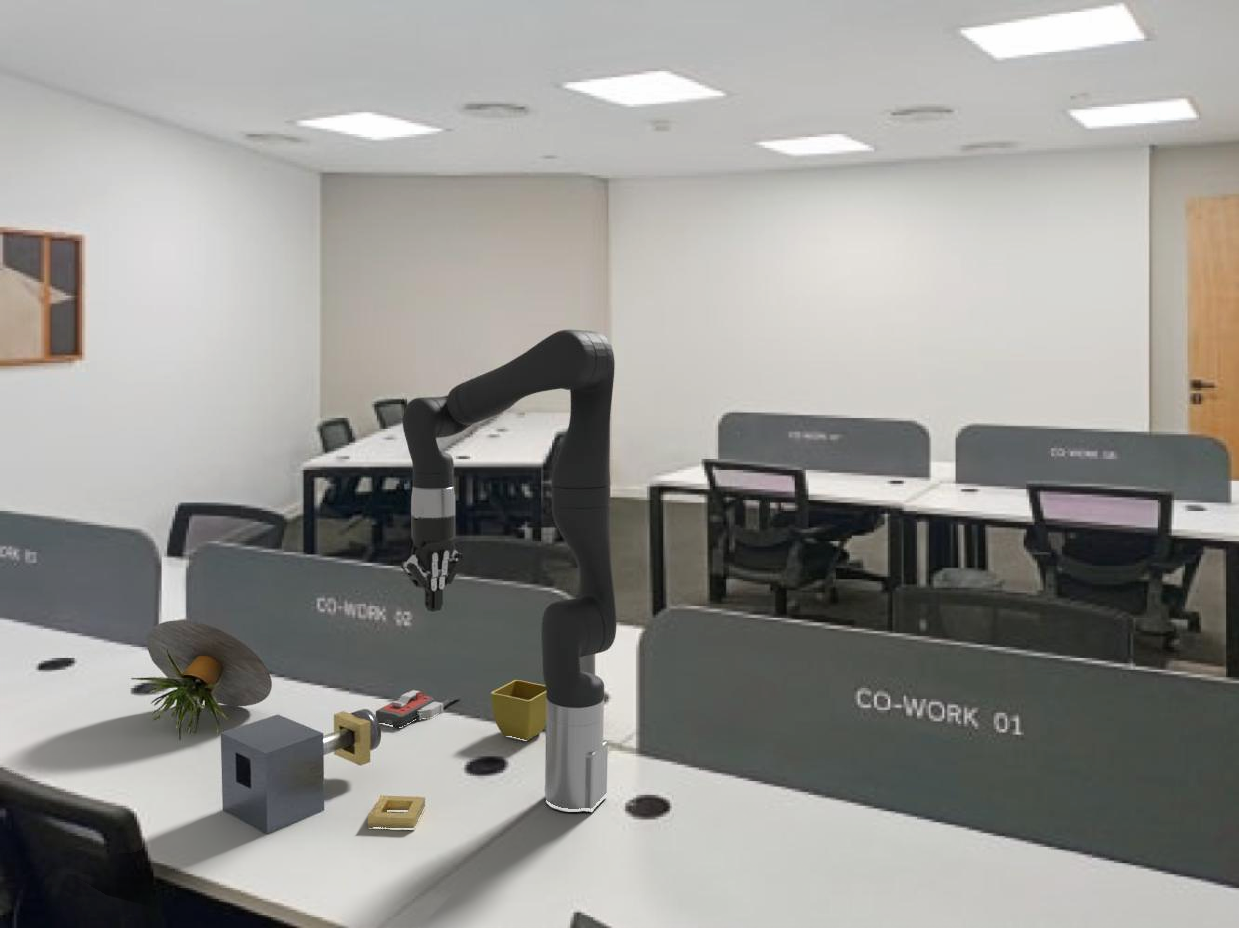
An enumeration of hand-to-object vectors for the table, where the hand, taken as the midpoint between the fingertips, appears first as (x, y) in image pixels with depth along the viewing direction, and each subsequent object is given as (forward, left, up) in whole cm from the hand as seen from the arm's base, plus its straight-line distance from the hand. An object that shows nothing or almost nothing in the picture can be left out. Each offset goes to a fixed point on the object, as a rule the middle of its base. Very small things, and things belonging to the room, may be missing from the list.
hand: (433, 610), depth 172 cm
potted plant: (+48, +7, -27) cm, 55 cm away
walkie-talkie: (+14, -16, -27) cm, 34 cm away
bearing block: (+11, +28, -26) cm, 40 cm away
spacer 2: (-8, +23, -26) cm, 36 cm away
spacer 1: (+7, +14, -19) cm, 25 cm away
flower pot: (-10, -14, -27) cm, 32 cm away
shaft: (+9, +20, -22) cm, 32 cm away
